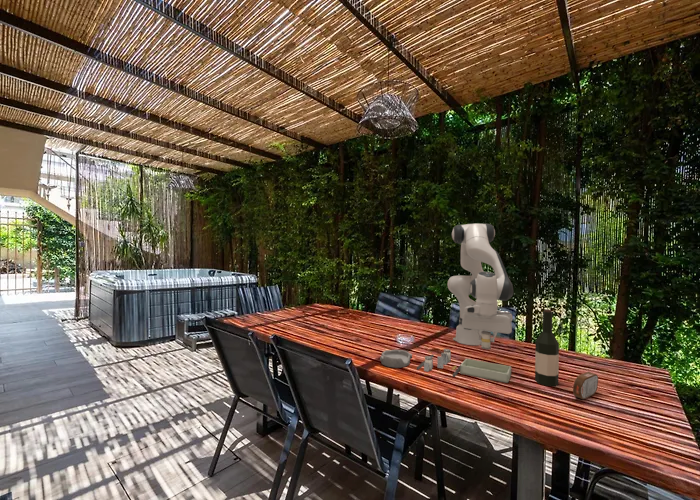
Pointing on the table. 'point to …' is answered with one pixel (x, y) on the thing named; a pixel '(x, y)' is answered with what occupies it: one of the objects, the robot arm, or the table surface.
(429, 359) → the fuse cartridge near camera
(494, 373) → the tray
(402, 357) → the dish
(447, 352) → the fuse cartridge near arm
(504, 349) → the table surface
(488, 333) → the cylinder
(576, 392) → the tin
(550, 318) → the wine bottle
